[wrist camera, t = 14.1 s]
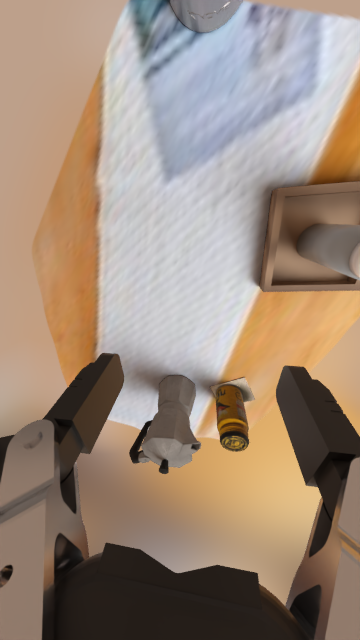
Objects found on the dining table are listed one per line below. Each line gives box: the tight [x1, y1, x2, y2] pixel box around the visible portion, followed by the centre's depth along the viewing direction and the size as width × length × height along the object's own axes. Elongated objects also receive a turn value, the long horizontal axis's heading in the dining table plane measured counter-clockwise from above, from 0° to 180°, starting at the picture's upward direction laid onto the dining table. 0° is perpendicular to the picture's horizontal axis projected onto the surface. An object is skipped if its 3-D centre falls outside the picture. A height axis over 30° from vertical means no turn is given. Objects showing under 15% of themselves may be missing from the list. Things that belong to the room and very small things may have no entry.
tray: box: [259, 181, 360, 292], centre depth 28 cm, size 14×14×3 cm
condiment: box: [210, 377, 255, 451], centre depth 41 cm, size 7×8×12 cm
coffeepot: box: [129, 375, 201, 474], centre depth 40 cm, size 15×9×18 cm, turn 119°
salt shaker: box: [297, 223, 360, 280], centre depth 23 cm, size 5×5×13 cm
